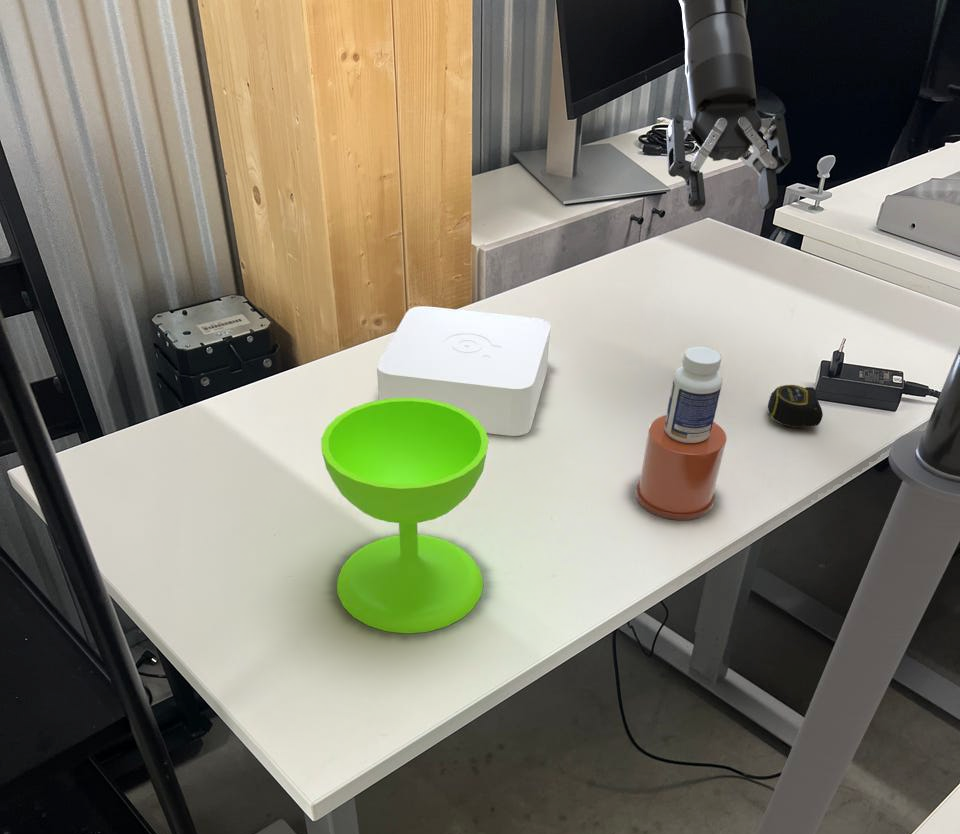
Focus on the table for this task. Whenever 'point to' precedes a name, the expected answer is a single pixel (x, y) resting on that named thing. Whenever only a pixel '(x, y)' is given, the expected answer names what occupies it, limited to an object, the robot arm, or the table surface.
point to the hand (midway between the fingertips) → (734, 207)
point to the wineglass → (407, 509)
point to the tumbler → (679, 473)
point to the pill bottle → (694, 396)
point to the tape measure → (795, 406)
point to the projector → (469, 364)
